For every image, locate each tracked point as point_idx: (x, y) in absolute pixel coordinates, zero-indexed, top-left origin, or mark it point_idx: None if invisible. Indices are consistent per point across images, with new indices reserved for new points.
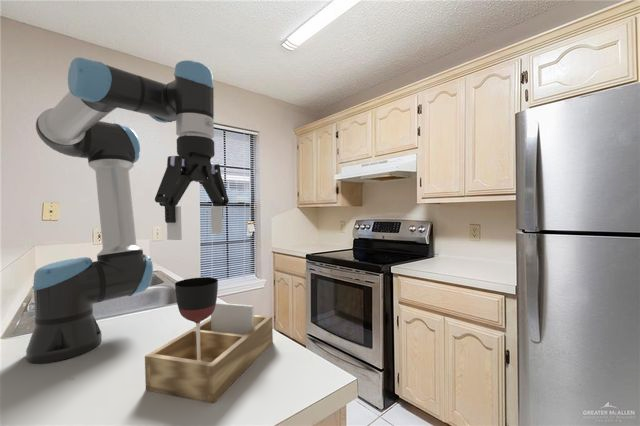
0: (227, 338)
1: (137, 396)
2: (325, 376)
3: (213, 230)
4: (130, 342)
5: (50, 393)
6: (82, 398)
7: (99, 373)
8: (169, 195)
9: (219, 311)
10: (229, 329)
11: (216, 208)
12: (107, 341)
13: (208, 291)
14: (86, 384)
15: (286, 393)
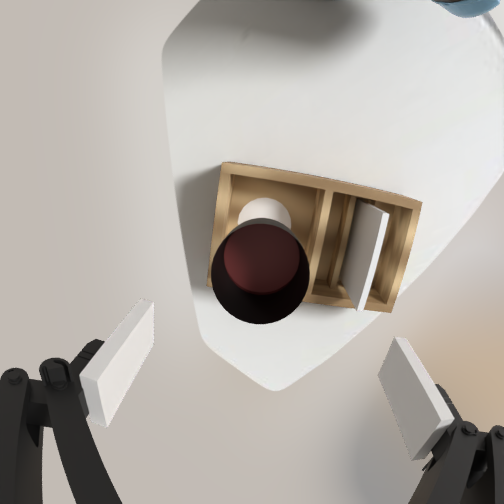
0: (309, 262)
1: (215, 160)
2: (281, 373)
3: (394, 353)
4: (361, 40)
5: (209, 41)
6: (203, 90)
7: (261, 61)
8: (31, 434)
9: (372, 231)
10: (356, 244)
11: (419, 437)
12: (357, 3)
13: (236, 309)
14: (233, 67)
15: (244, 341)
